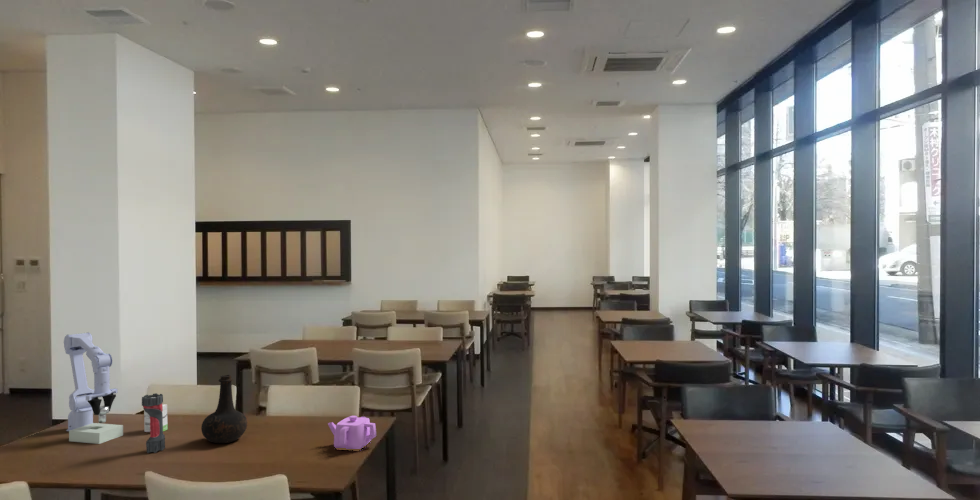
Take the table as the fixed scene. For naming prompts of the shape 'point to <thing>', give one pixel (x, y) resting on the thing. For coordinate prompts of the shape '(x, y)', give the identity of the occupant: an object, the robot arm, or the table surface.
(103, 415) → the steel pin
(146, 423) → the ink box
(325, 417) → the table surface
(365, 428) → the teakettle
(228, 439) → the glass bottle
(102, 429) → the pin block
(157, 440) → the flashlight
